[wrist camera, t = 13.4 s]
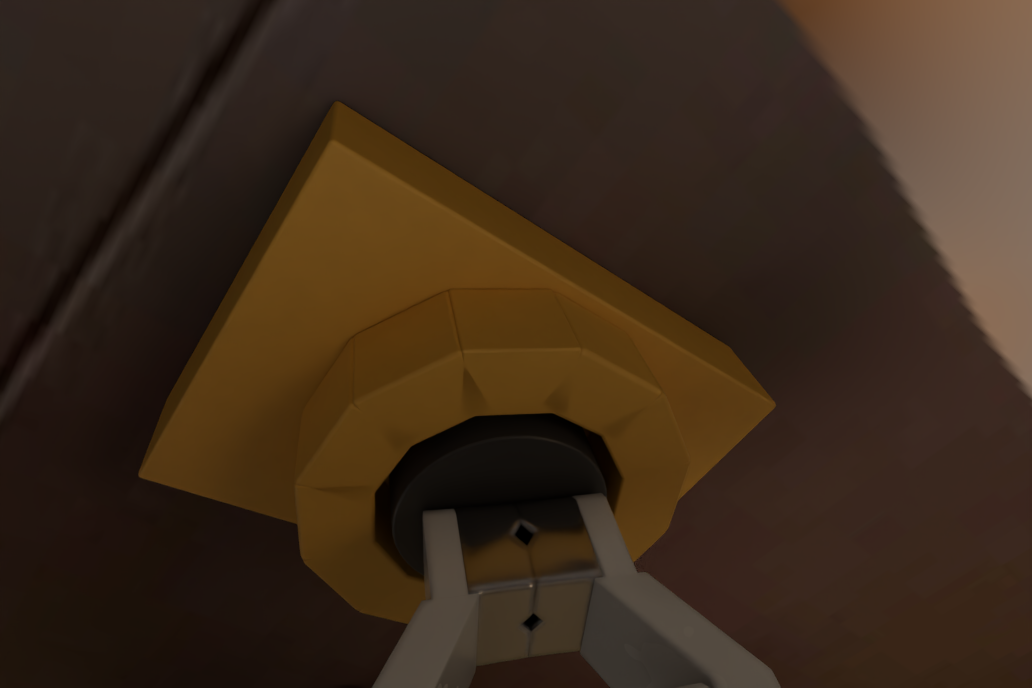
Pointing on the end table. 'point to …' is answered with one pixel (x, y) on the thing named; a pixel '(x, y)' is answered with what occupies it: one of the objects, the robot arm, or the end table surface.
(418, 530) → the button
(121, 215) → the end table surface
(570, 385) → the switch box
